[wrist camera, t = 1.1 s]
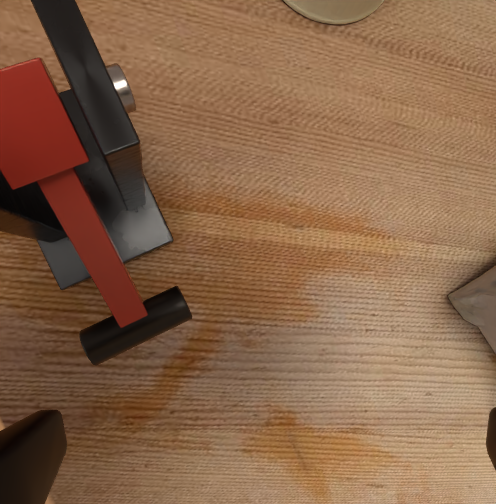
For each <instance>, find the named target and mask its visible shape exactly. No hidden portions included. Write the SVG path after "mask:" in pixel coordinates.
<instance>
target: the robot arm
mask: <svg viewBox="0 0 496 504" xmlns="http://www.w3.org/2000/svg"><path fill="white" fill-rule="evenodd" d="M486 447H487V452H488V455H489V457H490V459H491V461H492V464H493V466H494V468H495V470H496V407H495V408H493V409H492V410H491V411H490V414H489V421H488V430H487V438H486ZM66 449H67V440H66V434H65V429H64V423H63V418H62V414H61V412H60V411H58V410H39V411H37V412H35V413H33V414H31V415H29V416H28V417H26V418H24V419H22V420H20V421H18V422H16V423H14V424H13V425H11V426H9V427H7V428H5V429H3V430H1V431H0V504H45V501H46V499H47V497H48V494H49V492H50V489H51V487H52V485H53V482H54V480H55V478H56V475H57V473H58V470H59V468H60V466H61V463H62V461H63V458H64V456H65V453H66Z"/></svg>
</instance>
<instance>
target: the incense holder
mask: <svg viewBox="0 0 496 504" xmlns="http://www.w3.org/2000/svg"><path fill="white" fill-rule="evenodd" d="M448 298H449V300H450V301H451V303H452V304H453V306H454V307H455V308H456V310H457V311H458V312H459V314H460V315H461V316H462V318H463V319H464V320H466V321H468V322H470V323H472V324H473V325H475V326H478V327H479V329H480V330H481V332H482V334H483V335H484V337H485V338H486V340H487V342H488V343H489V344H490V346H491V347H492V349H493V350H494V352H495V353H496V265H495V266H494V267H493V268H491V269H490V270H488V271H487V272H485V273H484V274H483V275H481V276H480V277H478V278H476V279H475V280H473V281H471V282H470V283H468V284H467V285H465V286H464V287H462V288H460V289H459V290H457V291H455V292H453V293H451V294H449V296H448Z"/></svg>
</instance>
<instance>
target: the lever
mask: <svg viewBox="0 0 496 504" xmlns="http://www.w3.org/2000/svg"><path fill="white" fill-rule="evenodd" d="M86 162H89V157H88V154H87V152H86V149H85V146H84V144H83V141H82V139H81V137H80V135H79V133H78V131H77V129H76V127H75V125H74V123H73V121H72V119H71V117H70V115H69V113H68V110H67V108H66V106H65V104H64V102H63V100H62V98H61V96H60V94H59V92H58V90H57V88H56V86H55V84H54V82H53V79H52V77H51V75H50V73H49V71H48V69H47V67H46V65H45V63H44V61H43V59H42V58H35V59H31V60H28V61H25V62H22V63H18V64H15V65H12V66H9V67H5V68H2V69H0V171H1V173H2V174H3V176H4V177H5V179H6V181H7V182H8V184H9V186H10V187H11V189H13V190H14V189H17V188H20V187H22V186H25V185H28V184H30V183H33V182H37V183H38V185H39V187H40V189H41V190H42V192H43V194H44V196H45V197H46V199H47V201H48V203H49V204H50V206H51V208H52V210H53V211H54V213H55V215H56V217H57V218H58V220H59V222H60V223H61V225H62V227H63V229H64V230H65V232H66V234H67V236H68V237H69V239H70V241H71V243H72V244H73V246H74V248H75V250H76V251H77V253H78V255H79V257H80V258H81V260H82V262H83V264H84V265H85V267H86V269H87V270H88V272H89V274H90V276H91V277H92V279H93V281H94V283H95V284H96V286H97V288H98V290H99V291H100V293H101V295H102V297H103V298H104V300H105V302H106V304H107V305H108V307H109V309H110V310H111V312H112V314H113V316H111V317H109V318H107V319H104V320H102V321H100V322H98V323H96V324H94V325H92V326H90V327H87V328H85V329H83V330H81V331H80V333H79V335H80V341H81V344H82V347H83V349H84V351H85V353H86V355H87V357H88V359H89V360H90V361H91V363H92V364H93V365H99V364H101V363H103V362H105V361H107V360H109V359H111V358H113V357H115V356H117V355H119V354H121V353H123V352H125V351H127V350H129V349H131V348H133V347H135V346H137V345H139V344H141V343H143V342H145V341H147V340H149V339H151V338H153V337H155V336H157V335H159V334H161V333H163V332H165V331H168V330H170V329H172V328H174V327H176V326H178V325H180V324H182V323H184V322H186V321H188V320H190V319H192V314H191V312H190V310H189V307H188V305H187V303H186V301H185V299H184V297H183V295H182V293H181V291H180V289H179V287H178V286H175V287H173V288H170V289H168V290H166V291H164V292H162V293H160V294H158V295H156V296H153V297H151V298H149V299H147V300H145V301H143V300H142V298H141V296H140V294H139V292H138V290H137V288H136V286H135V284H134V282H133V280H132V278H131V276H130V274H129V272H128V270H127V268H126V266H125V264H124V263H123V261H122V259H121V257H120V255H119V253H118V251H117V249H116V247H115V245H114V243H113V241H112V239H111V237H110V235H109V233H108V231H107V229H106V227H105V225H104V223H103V221H102V219H101V218H100V216H99V214H98V212H97V210H96V208H95V206H94V204H93V202H92V200H91V198H90V196H89V194H88V192H87V190H86V188H85V186H84V184H83V182H82V180H81V178H80V176H79V174H78V173H77V171H76V169H75V167H76V166H78V165H81V164H84V163H86Z"/></svg>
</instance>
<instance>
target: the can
mask: <svg viewBox="0 0 496 504" xmlns="http://www.w3.org/2000/svg"><path fill="white" fill-rule="evenodd" d="M283 1H284V2H285V3H286V4H287V5H289V6H290V7H291V8H292V9H294V10H295V11H297V12H298V13H300V14H302V15H303V16H305V17H307V18H309V19H312V20H315V21H318V22H322V23H327V24H348V23H353V22H356V21H359V20H361V19H363V18H365V17H367V16H368V15H370V14H371V13H373V12H374V11H375V10H376V9H377V8H378V7H379V6H380V5H381V4H382V3H383V1H384V0H283Z"/></svg>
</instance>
